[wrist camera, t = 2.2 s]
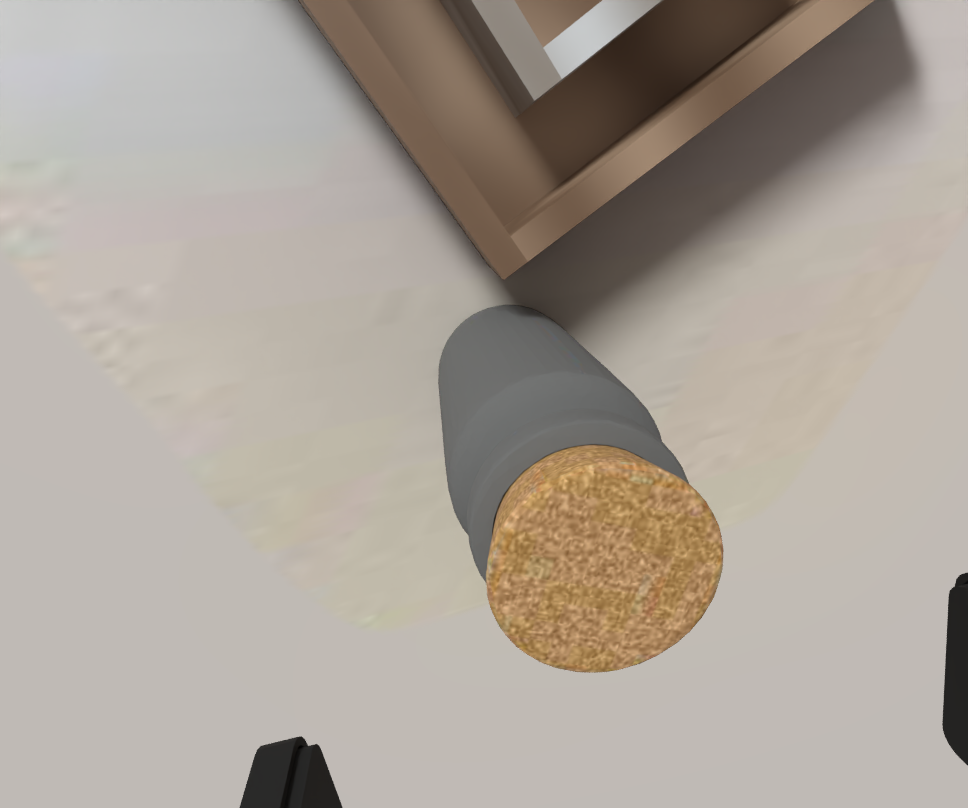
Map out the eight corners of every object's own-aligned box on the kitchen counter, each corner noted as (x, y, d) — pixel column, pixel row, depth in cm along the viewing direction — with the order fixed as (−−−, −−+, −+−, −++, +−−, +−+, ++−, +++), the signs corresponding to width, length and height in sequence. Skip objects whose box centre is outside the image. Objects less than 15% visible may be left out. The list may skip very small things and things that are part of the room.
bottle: (485, 275, 25) (571, 376, 11) (601, 350, 26) (813, 526, 12) (411, 394, 26) (398, 628, 12) (525, 459, 27) (635, 736, 13)
